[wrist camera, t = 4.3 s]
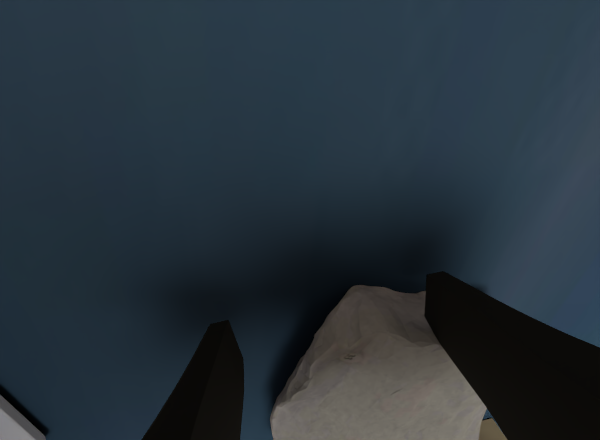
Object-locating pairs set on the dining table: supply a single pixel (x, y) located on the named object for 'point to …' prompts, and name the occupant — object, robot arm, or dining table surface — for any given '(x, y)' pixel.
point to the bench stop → (490, 431)
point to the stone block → (377, 377)
